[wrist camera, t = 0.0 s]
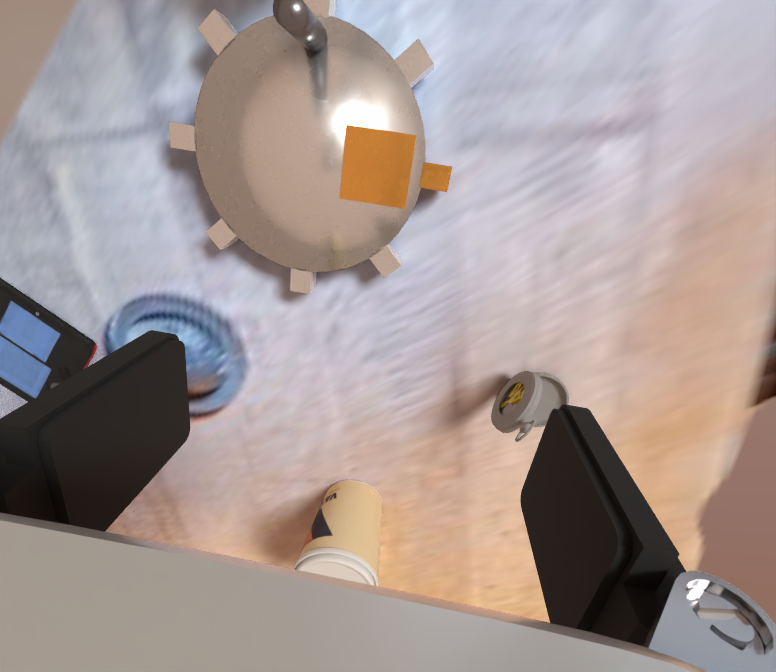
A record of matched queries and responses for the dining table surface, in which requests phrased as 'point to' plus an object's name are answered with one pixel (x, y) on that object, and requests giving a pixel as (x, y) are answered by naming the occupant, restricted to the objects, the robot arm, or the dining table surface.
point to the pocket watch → (527, 402)
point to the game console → (37, 346)
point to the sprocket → (310, 140)
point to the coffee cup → (345, 534)
